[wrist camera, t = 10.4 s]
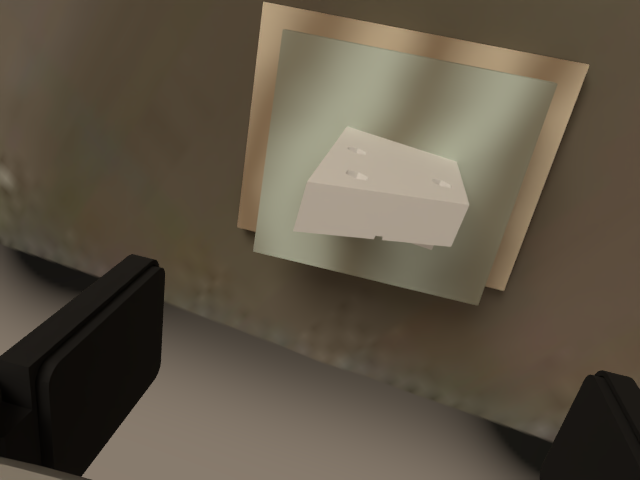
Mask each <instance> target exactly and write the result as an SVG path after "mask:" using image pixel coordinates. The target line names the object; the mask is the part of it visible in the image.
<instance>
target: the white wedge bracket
mask: <svg viewBox="0 0 640 480" xmlns="http://www.w3.org/2000/svg"><path fill="white" fill-rule="evenodd" d="M468 207H469V202H468V198H467V195H466V191H465V188H464V185H463V181H462V178H461V174H460V171H459V168H458V164H457V162H456V161H453V160H450V159H447V158H444V157H441V156H438V155H435V154H431V153H428V152H425V151H422V150H419V149H416V148H413V147H410V146H407V145H404V144H400V143H397V142H394V141H391V140H388V139H385V138H382V137H379V136H376V135H373V134H369V133H366V132H363V131H360V130H357V129H354V128H351V127H348V126H347V127H346V128H345V130H344V131H343V133H342V134H341V135H340V137H339V138H338V140H337V141H336V142H335V144H334V145H333V146H332V148H331V149H330V151H329V152H328V153H327V155H326V156H325V157H324V159H323V160H322V162H321V163H320V164H319V166H318V167H317V168H316V170H315V171H314V173H313V174H312V175H311V177H310V178H309V180H308V181H307V183H306V187H305V190H304V194H303V198H302V201H301V205H300V208H299V212H298V215H297V219H296V222H295V226H294V229H293V231H295V232H305V233H315V234H325V235H335V236H346V237H356V238H366V239H374V238H375V236H382V240H386V241H397V242H407V243H412V244H415V245H418V246H421V247H424V248H427V249H430V250H432V248H433V246H434V245H437V246H448V247H451V246H452V244H453V241H454V239H455V237H456V234H457V232H458V230H459V228H460V225H461V223H462V221H463V219H464V216H465V214H466V212H467V209H468Z"/></svg>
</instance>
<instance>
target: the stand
mask: <svg viewBox="0 0 640 480" xmlns="http://www.w3.org/2000/svg"><path fill="white" fill-rule="evenodd" d="M588 68H589V65H588V64H583V63H578V62H572V61H567V60H562V59H557V58H552V57H547V56H541V55H536V54H531V53H526V52H521V51H515V50H510V49H505V48H500V47H495V46H490V45H484V44H479V43H474V42H469V41H464V40H459V39H453V38H448V37H443V36H438V35H433V34H428V33H422V32H417V31H412V30H407V29H402V28H397V27H391V26H386V25H381V24H376V23H371V22H366V21H360V20H355V19H350V18H345V17H340V16H335V15H329V14H324V13H319V12H314V11H309V10H303V9H298V8H293V7H288V6H283V5H278V4H272V3H267V2H263V9H262V18H261V27H260V35H259V44H258V52H257V61H256V70H255V78H254V87H253V96H252V104H251V113H250V122H249V130H248V139H247V147H246V156H245V165H244V173H243V182H242V191H241V199H240V208H239V217H238V225H237V227H238V228H242V229H246V230H250V231H255V232H256V234H255V242H254V249H253V251H254V252H258V253H262V254H266V255H270V256H274V257H278V258H283V259H287V260H291V261H295V262H299V263H303V264H307V265H312V266H316V267H320V268H324V269H328V270H332V271H336V272H340V273H345V274H349V275H353V276H357V277H361V278H365V279H369V280H373V281H378V282H382V283H386V284H390V285H394V286H398V287H402V288H407V289H411V290H415V291H419V292H423V293H427V294H431V295H435V296H440V297H444V298H448V299H452V300H456V301H460V302H464V303H469V304H473V305H477V306H478V304H479V302H480V299H481V296H482V293H483V290H484V288H485V286H486V287H490V288H494V289H498V290H502V291H504V289H505V287H506V284H507V281H508V279H509V276H510V274H511V271H512V268H513V266H514V263H515V260H516V258H517V255H518V252H519V250H520V247H521V245H522V242H523V239H524V237H525V234H526V231H527V229H528V226H529V223H530V221H531V218H532V215H533V213H534V210H535V208H536V205H537V202H538V200H539V197H540V194H541V192H542V189H543V186H544V184H545V181H546V179H547V176H548V173H549V171H550V168H551V165H552V163H553V160H554V157H555V155H556V152H557V150H558V147H559V144H560V142H561V139H562V136H563V134H564V131H565V128H566V126H567V123H568V120H569V118H570V115H571V113H572V110H573V107H574V105H575V102H576V99H577V97H578V94H579V91H580V89H581V86H582V84H583V81H584V78H585V76H586V73H587V70H588ZM347 126H348V127H351V128H354V129H357V130H360V131H363V132H366V133H369V134H373V135H376V136H379V137H382V138H385V139H388V140H391V141H394V142H397V143H400V144H404V145H407V146H410V147H413V148H416V149H419V150H422V151H425V152H428V153H431V154H435V155H438V156H441V157H444V158H447V159H450V160H453V161H456V162H457V164H458V168H459V171H460V174H461V178H462V181H463V185H464V188H465V191H466V195H467V198H468V202H469V207H468V209H467V212H466V214H465V216H464V219H463V221H462V223H461V225H460V228H459V230H458V232H457V234H456V237H455V239H454V241H453V244H452V246H451V247H448V246H437V245H434V246H433V248H432V250H430V249H427V248H424V247H421V246H418V245H415V244H412V243H407V242H397V241H386V240H382V236H375V238H374V239H366V238H356V237H346V236H335V235H325V234H315V233H305V232H295V231H293V229H294V226H295V222H296V219H297V215H298V212H299V208H300V205H301V201H302V198H303V194H304V190H305V187H306V183H307V181H308V180H309V178H310V177H311V175H312V174H313V173H314V171H315V170H316V168H317V167H318V166H319V164H320V163H321V162H322V160H323V159H324V157H325V156H326V155H327V153H328V152H329V151H330V149H331V148H332V146H333V145H334V144H335V142H336V141H337V140H338V138H339V137H340V135H341V134H342V133H343V131H344V130H345V128H346V127H347Z"/></svg>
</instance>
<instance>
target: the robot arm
mask: <svg viewBox="0 0 640 480" xmlns="http://www.w3.org/2000/svg"><path fill="white" fill-rule="evenodd" d="M164 286H165V271H164V269H163V268H160V267H159V264H158V262H157V260H154V259H150V258H146V257H142V256H138V255H133V254H131V255H129V256H128V257H126V258H125V259H124V260H123V261H121V262H120V263H119V264H117V265H116V266H115V267H114V268H112V269H111V270H110V271H108V272H107V273H106V274H105V275H103V276H102V277H101V278H100V279H98V280H97V281H96V282H94V283H93V284H92V285H91V286H89V287H88V288H87V289H85V290H84V291H83V292H82V293H80V294H79V295H78V296H77V297H75V298H74V299H73V300H71V301H70V302H69V303H68V304H66V305H65V306H64V307H62V308H61V309H60V310H59V311H57V312H56V313H55V314H54V315H52V316H51V317H50V318H48V319H47V320H46V321H45V322H43V323H42V324H41V325H40V326H38V327H37V328H36V329H34V330H33V331H32V332H30V333H29V334H28V335H27V336H25V337H24V338H23V339H22V340H20V341H19V342H18V343H16V344H15V345H14V346H13V347H11V348H10V349H9V350H7V351H6V352H5V353H4V354H3V355H1V356H0V480H91V479H87V478H83V477H81V476H82V475H83V474H84V472H85V471H86V470H87V468H88V467H89V466H90V464H91V463H92V462H93V460H94V459H95V458H96V456H97V455H98V454H99V452H100V451H101V450H102V448H103V447H104V446H105V444H106V443H107V442H108V441H109V439H110V438H111V437H112V435H113V434H114V433H115V431H116V430H117V429H118V427H119V426H120V425H121V423H122V422H123V421H124V419H125V418H126V417H127V415H128V414H129V413H130V411H131V410H132V409H133V407H134V406H135V405H136V403H137V402H138V401H139V399H140V398H141V397H142V395H143V394H144V393H145V391H146V390H147V389H148V387H149V386H150V385H151V384H152V382H153V381H154V379H155V378H156V376H157V374H158V371H159V368H160V364H161V346H162V326H163V325H162V324H163V306H164V305H163V304H164ZM540 480H640V389H639V388H638V386H637V384H636V383H635V381H634V380H633V379H632V378H630V377H627V376H623V375H619V374H615V373H611V372H607V371H603V370H601V371H598V372H597V373H596V374H595V375H588V376H587V377H586V378H585V380H584V382H583V384H582V386H581V388H580V390H579V392H578V394H577V396H576V398H575V400H574V402H573V404H572V406H571V408H570V410H569V412H568V414H567V416H566V418H565V420H564V422H563V424H562V426H561V428H560V430H559V432H558V434H557V436H556V438H555V440H554V442H553V444H552V446H551V448H550V450H549V452H548V454H547V456H546V458H545V460H544V462H543V464H542V467H541V471H540Z"/></svg>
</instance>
